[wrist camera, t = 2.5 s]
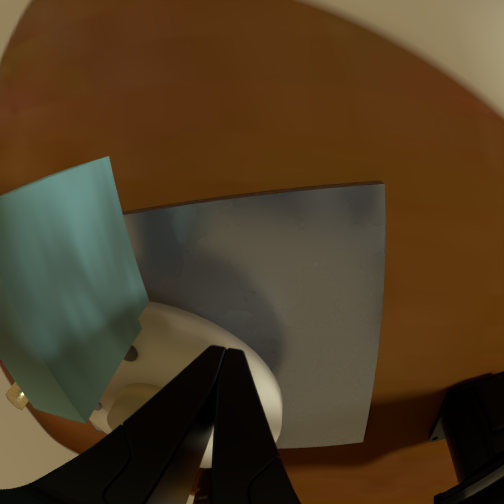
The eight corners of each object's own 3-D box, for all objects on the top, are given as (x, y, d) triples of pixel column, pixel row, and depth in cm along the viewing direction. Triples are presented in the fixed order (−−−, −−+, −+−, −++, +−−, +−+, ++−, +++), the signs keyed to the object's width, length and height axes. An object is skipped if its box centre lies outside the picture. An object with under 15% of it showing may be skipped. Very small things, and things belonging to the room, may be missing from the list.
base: (362, 435, 19) (369, 505, 14) (99, 424, 23) (73, 475, 17) (380, 180, 12) (442, 233, 7) (0, 238, 16) (-63, 281, 10)
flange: (290, 455, 16) (285, 541, 11) (119, 440, 18) (90, 506, 13) (241, 127, 9) (176, 147, 4) (-4, 195, 11) (-97, 245, 6)
